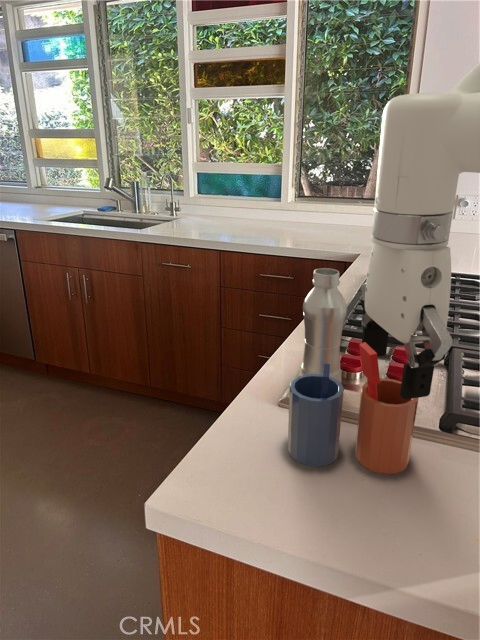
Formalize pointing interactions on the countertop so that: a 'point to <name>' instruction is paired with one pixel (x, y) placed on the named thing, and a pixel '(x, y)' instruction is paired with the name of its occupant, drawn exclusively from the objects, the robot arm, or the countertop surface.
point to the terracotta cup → (385, 428)
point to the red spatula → (370, 368)
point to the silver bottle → (323, 324)
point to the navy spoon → (325, 381)
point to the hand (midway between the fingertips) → (392, 374)
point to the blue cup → (314, 420)
